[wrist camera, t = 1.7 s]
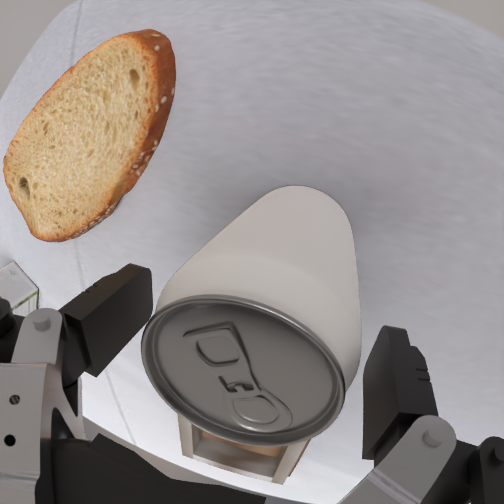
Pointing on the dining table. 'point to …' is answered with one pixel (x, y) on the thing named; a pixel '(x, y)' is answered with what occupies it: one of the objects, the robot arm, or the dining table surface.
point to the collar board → (240, 454)
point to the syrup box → (18, 290)
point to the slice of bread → (91, 135)
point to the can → (262, 324)
